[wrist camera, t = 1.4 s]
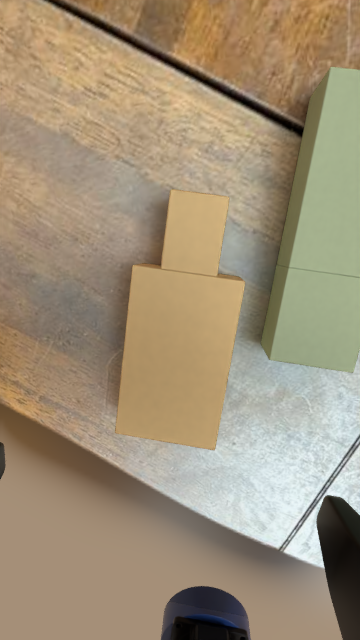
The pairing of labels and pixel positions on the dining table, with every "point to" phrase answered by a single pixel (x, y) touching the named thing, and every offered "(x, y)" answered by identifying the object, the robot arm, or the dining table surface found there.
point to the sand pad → (180, 330)
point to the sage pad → (321, 237)
